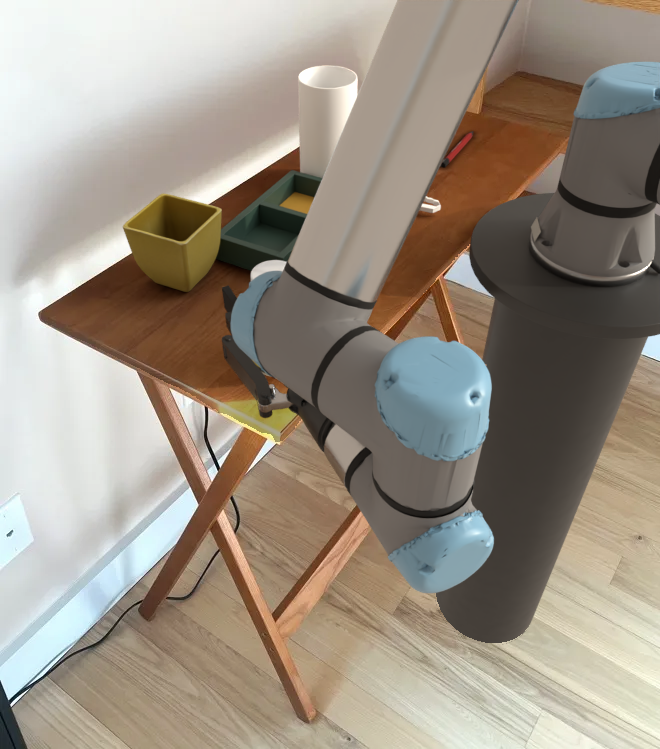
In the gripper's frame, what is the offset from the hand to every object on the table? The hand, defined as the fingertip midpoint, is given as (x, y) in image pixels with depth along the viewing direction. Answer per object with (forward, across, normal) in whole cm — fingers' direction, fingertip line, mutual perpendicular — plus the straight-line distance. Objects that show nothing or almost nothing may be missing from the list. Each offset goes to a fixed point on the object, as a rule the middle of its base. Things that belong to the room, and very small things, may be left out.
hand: (257, 287), depth 78 cm
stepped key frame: (+20, +30, -8) cm, 37 cm away
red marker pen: (+30, +47, -8) cm, 57 cm away
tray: (+19, +12, -8) cm, 24 cm away
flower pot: (+16, -4, -8) cm, 18 cm away
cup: (+30, +23, -8) cm, 38 cm away
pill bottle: (-5, 0, -7) cm, 8 cm away
